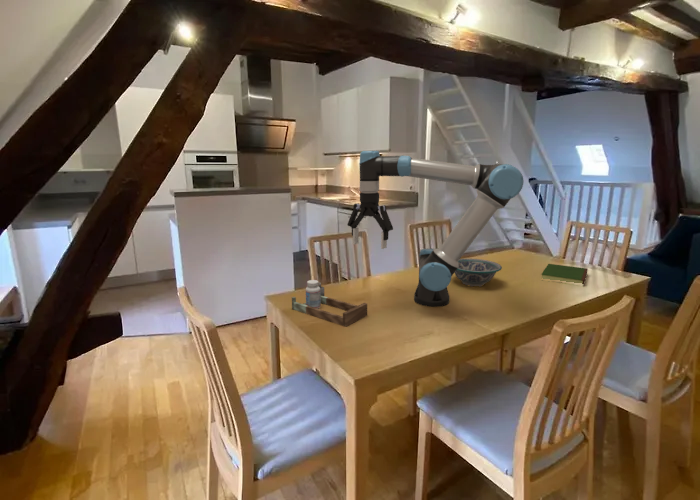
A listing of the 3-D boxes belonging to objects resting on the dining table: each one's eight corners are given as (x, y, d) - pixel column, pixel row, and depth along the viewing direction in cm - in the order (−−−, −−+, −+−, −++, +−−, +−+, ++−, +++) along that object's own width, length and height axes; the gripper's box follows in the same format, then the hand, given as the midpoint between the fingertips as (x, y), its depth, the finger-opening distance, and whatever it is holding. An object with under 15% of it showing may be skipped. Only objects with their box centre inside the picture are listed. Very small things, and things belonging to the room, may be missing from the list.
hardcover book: (583, 287, 190) (584, 280, 190) (540, 281, 201) (541, 274, 200) (586, 275, 211) (587, 268, 210) (548, 269, 221) (548, 263, 220)
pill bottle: (306, 305, 168) (305, 279, 165) (320, 304, 168) (320, 279, 166) (306, 310, 162) (305, 284, 159) (320, 309, 163) (320, 283, 160)
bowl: (443, 287, 189) (444, 268, 187) (451, 274, 212) (452, 256, 210) (499, 294, 180) (501, 274, 178) (501, 279, 203) (502, 261, 200)
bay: (374, 311, 160) (374, 294, 158) (346, 326, 146) (345, 307, 144) (319, 296, 178) (319, 280, 176) (289, 308, 164) (289, 291, 162)
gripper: (402, 192, 148) (401, 248, 153) (350, 190, 163) (350, 240, 168) (391, 194, 142) (391, 251, 147) (338, 191, 157) (339, 243, 162)
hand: (369, 246), depth 157 cm, fingers open, 13 cm apart
